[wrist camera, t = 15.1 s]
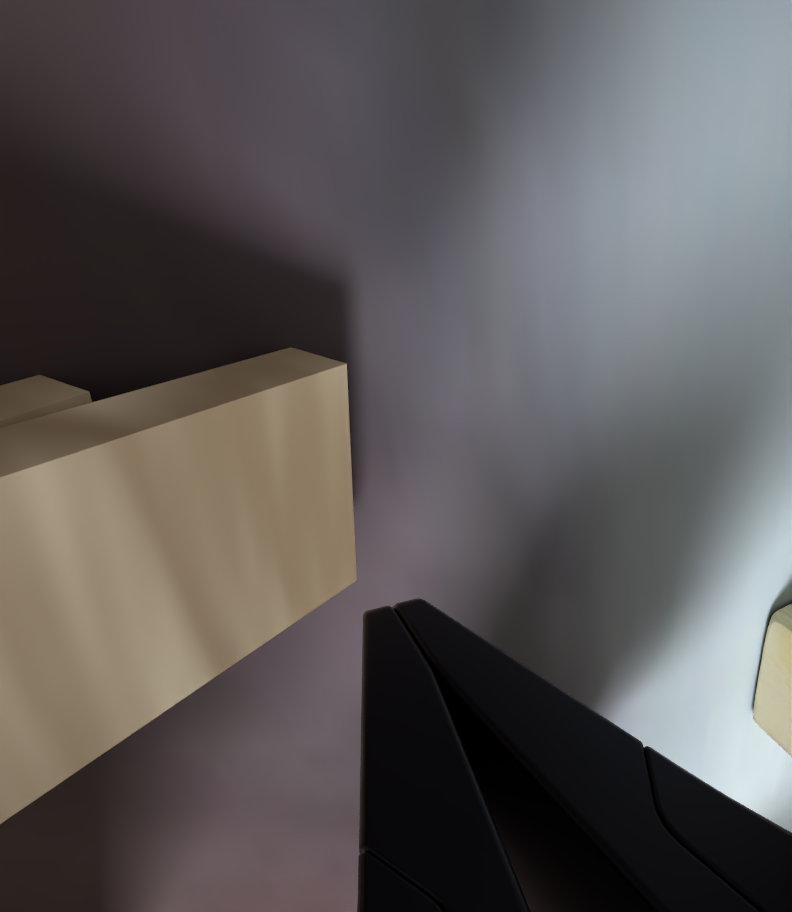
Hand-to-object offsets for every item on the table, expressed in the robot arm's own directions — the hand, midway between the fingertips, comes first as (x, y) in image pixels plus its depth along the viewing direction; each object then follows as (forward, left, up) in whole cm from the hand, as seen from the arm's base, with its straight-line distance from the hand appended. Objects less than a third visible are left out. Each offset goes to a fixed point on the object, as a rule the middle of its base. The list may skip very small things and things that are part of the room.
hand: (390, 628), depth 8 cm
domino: (0, 0, -5) cm, 5 cm away
